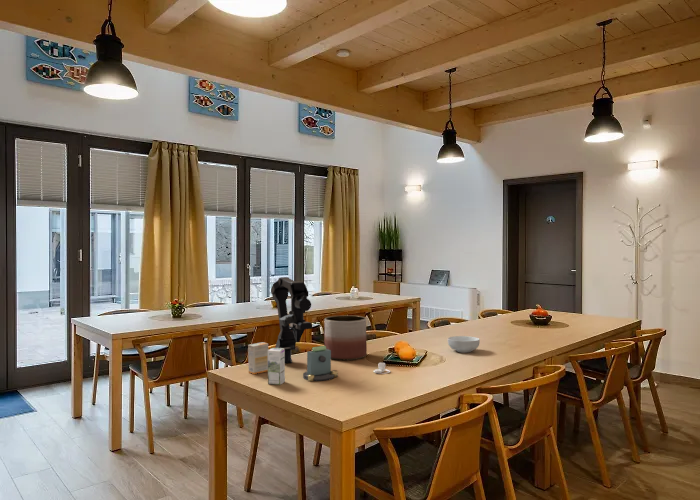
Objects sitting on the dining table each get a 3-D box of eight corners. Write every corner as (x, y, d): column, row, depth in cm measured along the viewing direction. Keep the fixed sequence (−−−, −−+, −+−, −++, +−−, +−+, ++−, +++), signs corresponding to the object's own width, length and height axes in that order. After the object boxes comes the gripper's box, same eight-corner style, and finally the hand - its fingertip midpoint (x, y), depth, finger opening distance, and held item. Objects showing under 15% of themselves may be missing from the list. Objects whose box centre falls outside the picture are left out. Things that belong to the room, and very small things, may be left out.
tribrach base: (295, 375, 226) (295, 369, 226) (323, 370, 234) (323, 365, 234) (312, 383, 213) (312, 377, 213) (341, 377, 221) (341, 372, 221)
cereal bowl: (477, 348, 282) (477, 335, 282) (481, 354, 265) (481, 341, 265) (446, 347, 284) (446, 335, 284) (449, 354, 267) (449, 341, 267)
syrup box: (285, 381, 216) (285, 347, 216) (280, 385, 210) (280, 350, 210) (272, 380, 217) (272, 347, 217) (267, 384, 211) (267, 350, 211)
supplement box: (262, 369, 237) (262, 341, 236) (268, 371, 233) (268, 343, 233) (247, 372, 231) (247, 344, 231) (253, 374, 227) (253, 345, 227)
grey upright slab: (307, 374, 222) (307, 347, 221) (326, 370, 227) (326, 344, 227) (313, 377, 217) (313, 349, 217) (333, 373, 223) (333, 346, 222)
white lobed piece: (378, 375, 226) (378, 366, 226) (368, 372, 233) (368, 363, 233) (394, 373, 231) (394, 364, 231) (383, 369, 237) (383, 360, 237)
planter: (334, 363, 249) (333, 322, 249) (318, 354, 269) (318, 316, 269) (373, 358, 258) (373, 319, 258) (355, 350, 278) (355, 314, 278)
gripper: (273, 307, 239) (273, 340, 239) (290, 312, 223) (291, 347, 224) (294, 306, 245) (294, 338, 245) (312, 310, 229) (313, 344, 230)
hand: (297, 342), depth 236 cm, fingers closed
